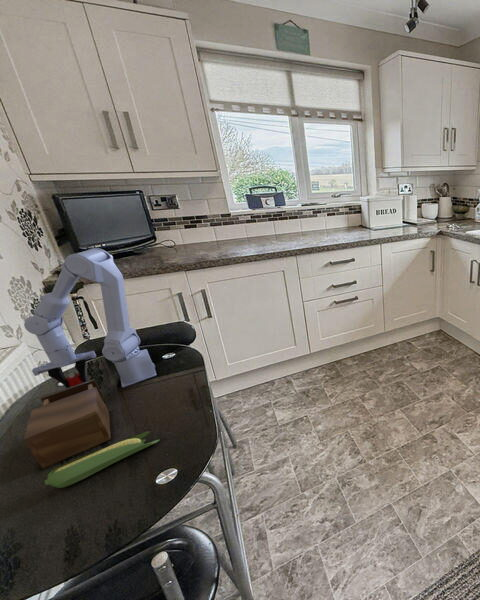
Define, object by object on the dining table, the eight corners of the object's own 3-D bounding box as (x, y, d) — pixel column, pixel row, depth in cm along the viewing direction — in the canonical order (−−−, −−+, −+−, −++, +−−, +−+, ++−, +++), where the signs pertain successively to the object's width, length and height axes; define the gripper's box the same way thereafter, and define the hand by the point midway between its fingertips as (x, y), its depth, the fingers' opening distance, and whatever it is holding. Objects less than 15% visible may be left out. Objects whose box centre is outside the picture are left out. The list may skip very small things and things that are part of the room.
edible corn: (53, 483, 72) (43, 468, 71) (160, 435, 84) (153, 421, 82) (50, 499, 69) (40, 483, 67) (162, 446, 80) (155, 432, 79)
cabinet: (48, 436, 87) (32, 409, 84) (109, 412, 95) (95, 386, 91) (42, 469, 77) (23, 439, 73) (110, 439, 84) (96, 411, 81)
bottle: (86, 382, 111) (79, 369, 109) (85, 387, 108) (78, 373, 106) (71, 387, 109) (64, 373, 107) (71, 392, 106) (63, 378, 104)
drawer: (54, 410, 96) (42, 389, 94) (104, 391, 103) (94, 372, 101) (48, 443, 83) (34, 420, 81) (105, 420, 90) (94, 398, 88)
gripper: (22, 362, 96) (44, 399, 101) (87, 343, 104) (104, 379, 109) (26, 353, 101) (47, 390, 106) (88, 336, 109) (104, 371, 114)
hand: (76, 384), depth 108 cm, fingers closed on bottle, 3 cm apart
